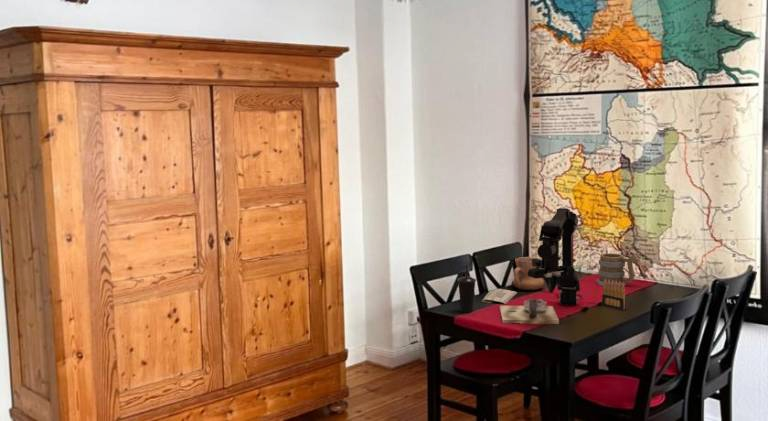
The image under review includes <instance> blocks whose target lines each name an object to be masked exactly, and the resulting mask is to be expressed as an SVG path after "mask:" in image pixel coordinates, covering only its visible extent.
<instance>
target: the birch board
mask: <svg viewBox="0 0 768 421" xmlns="http://www.w3.org/2000/svg"><path fill="white" fill-rule="evenodd" d="M499 311H500V317H502V318H501V321H502V322H503V323H502V324H511V323H520V324H522V325H523V324H525V323H526V324H527V325H529V324H531V325H560V319H559V317H558V315H557V313H556V311H555V309H554V307H553V305H546V312H543V313H537V317H535V318H531V317H529V312H526V311H524V305H499ZM526 324H525V325H526Z"/></svg>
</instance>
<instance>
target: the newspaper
mask: <svg viewBox="0 0 768 421" xmlns="http://www.w3.org/2000/svg"><path fill="white" fill-rule="evenodd" d="M517 294H518V292H517V291H514V290H508V289H502V288H495V289H494V290H489V291H488V293H487V294H486V295H485V296H484V298H483V299H481V302H482V303H488V304H492V303H493V302H497V303H498V302H499V303H502V304H504V305H506V304H508V302H509V301H511V299H512V298H514V297H515V296H516V295H517Z"/></svg>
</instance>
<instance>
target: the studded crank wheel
mask: <svg viewBox="0 0 768 421" xmlns="http://www.w3.org/2000/svg"><path fill="white" fill-rule="evenodd" d="M523 306H524V311H526V312H529V317H531V318H535V317H537V313H543V312H546V306H547V301H544V300H543V299H540V298H539V299H537V298H529V299H528V300H524V301H523Z"/></svg>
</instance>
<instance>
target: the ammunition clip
mask: <svg viewBox="0 0 768 421" xmlns="http://www.w3.org/2000/svg"><path fill="white" fill-rule="evenodd" d="M625 286H626V285H624V282H623V283H622V286H621V282H620V281H619V284H618V287H617V281H615V287H614V282H613V280H612V282H611V287H610V280H608V284H607V281H606V278H605V280H604V286H603V288H602V296H601V306H602V307H605V308H610V309H614V310H619V311H626V309H627V306H626V303H627V302H626V301H627V300H626V299H627V298H626V289H625V288H626V287H625Z"/></svg>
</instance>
